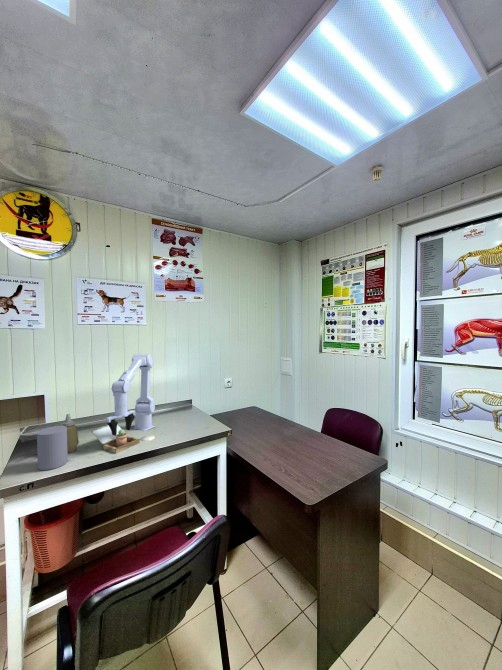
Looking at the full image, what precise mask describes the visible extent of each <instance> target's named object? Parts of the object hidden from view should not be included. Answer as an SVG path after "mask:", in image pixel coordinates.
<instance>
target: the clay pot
mask: <svg viewBox="0 0 502 670" xmlns="http://www.w3.org/2000/svg"><path fill="white" fill-rule="evenodd" d="M123 429H124V428H121V430H119V432H118V434H117V435H116V436H115V438H116V443H117V448H118V447H120V446H122V445H125V444H127V436H129V434H128V433H127V432H125V429H124V430H123Z"/></svg>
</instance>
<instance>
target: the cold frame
mask: <svg viewBox="0 0 502 670" xmlns="http://www.w3.org/2000/svg"><path fill="white" fill-rule="evenodd" d="M122 429H123V430H124V431H125V429H124V428H122ZM140 441H141V438H137V437H134V436H130V435H128V436H127V444H125V445H122V446H120V447H118V448H117V443H116V439H114V440H111V441H109V442H106V443H104V444H103V445H102V450H104V451H107V452H111V453H114V454H118V453H120V452H123V451H125V450H128V449H129V448H132V447H134V446H136V445H138V444H140V443H141V442H140Z"/></svg>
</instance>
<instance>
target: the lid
mask: <svg viewBox="0 0 502 670" xmlns="http://www.w3.org/2000/svg"><path fill="white" fill-rule="evenodd" d="M121 429H122V428H121V426H119V424H117V434H118V432H119V430H121ZM91 433H92V434H93V435H94V437H96V439H97V440H98V441H99V442H100V444H101V445H102V446H103V444H104V443H106V442H109V441H111V440H114V439H116V438H115V436H114V435H112V432H111V429H110V427H109V425H108V424H106V425H104V426H101V427H98V428H95V429H92V430H91ZM117 434H116V435H117Z"/></svg>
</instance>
